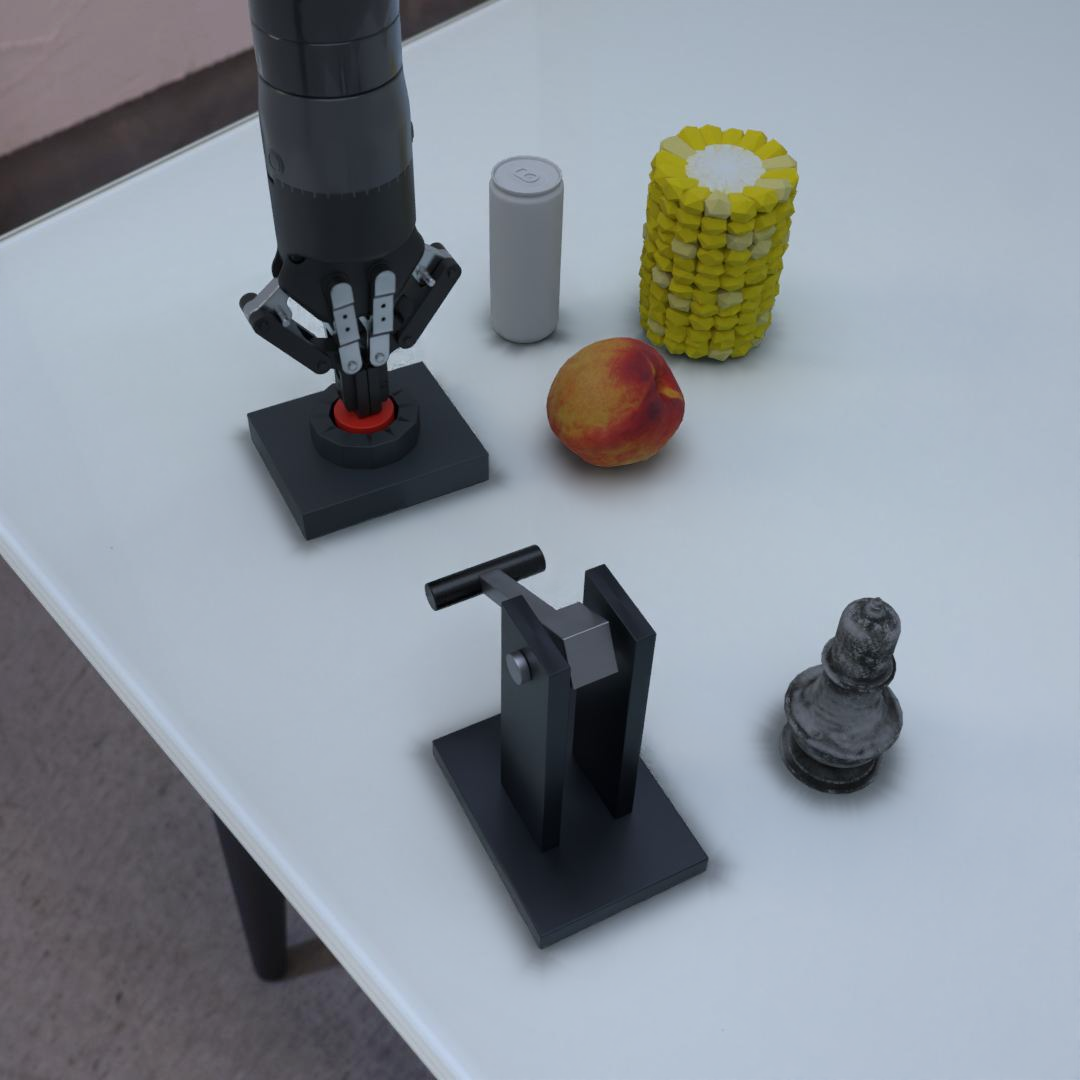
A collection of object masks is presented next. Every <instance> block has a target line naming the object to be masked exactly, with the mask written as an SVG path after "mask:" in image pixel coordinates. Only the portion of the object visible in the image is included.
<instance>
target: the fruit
mask: <svg viewBox="0 0 1080 1080" xmlns="http://www.w3.org/2000/svg"><path fill="white" fill-rule="evenodd" d="M683 393H684V392H682V389H681V387H680V384H679V383H678V381H677V379H676V377H675V375H674V373H673V371H672V369H671V367H670V366H669V365H668V363H667V361H666V360H665V358H664V356H663V355H662V354H661V353H660V352H659V351H658V349H656V348H655V347H654V346H653V345H650V344H648V343H647V342H645V341H642V340H640V339H638V338H634V337H630V336H629V337H628V336H623V337H622V336H616V337H610V338H605V339H601V340H597V341H594V342H592V343H590V344H588V345H586V346H584V347H583V348H581V349H579V350H578V351H577V352H576V353H575V354H573V355H572V356H570V357H569V358H568V359H566V360H565V362H564V363H563V364H562V366H560V368H559V369H558V371H557V373H556V375H555V377H554V379H553V381H552V383H551V385H550V387H549V391H548V393H547V397H546V405H545V408H546V417H547V421H548V424H549V427H550V429H551V431H552V433H553V434H554V435H555V436H556V438H557V439H558V440H559V442H561V443H562V444H563V445H564V446H565V447H566V448H567V449H568V450H569V451H571V452H572V453H573V454H575V455H577V456H578V457H579V458H580V459H581V460H583V461H584V462H585V463H588V464H591V465H593V466H596V467H605V468H608V467H619V466H626V465H630V464H637V463H641V462H644V461H646V460H648V459H650V458H651V457H653V456H654V455H656V454H658V453H659V452H660V451H661V450H662V449H663V448H664V447H665V446H666V445H667V444H668V442H669V441H670V440H671V439H672V438H673V437H674V435H675V434H676V432H677V431H678V430H679V428H680V426H681V424H682V423H683V421H684V416H685V411H686V401H685V396H684V394H683Z"/></svg>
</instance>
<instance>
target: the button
mask: <svg viewBox="0 0 1080 1080" xmlns="http://www.w3.org/2000/svg"><path fill="white" fill-rule="evenodd" d="M381 404H382V411H381V412H378V413H375V414H372V415H369V416H365V417H362V418H358V417H357V415H356V414H355V412H354V411H353V412H349V411H348V410H347V409H346V407H345V406H344V404H343V402H342V401H341V399H339V400H338V401H337V403H336V405H335V407H334V416H335V424H336V427H338V428H340V429H342V430H344V431H346V432H348V433H358V434H371V433H374V432H377V431H380V430H383V429H386V428H387V427H388V426H389V425H390V424H392V423H393V422H394V421H395V418H394V406H393V403H392V401H391V400H390V398H389V397H388V399H387V401H385V402H382V403H381Z"/></svg>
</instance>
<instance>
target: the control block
mask: <svg viewBox="0 0 1080 1080" xmlns="http://www.w3.org/2000/svg"><path fill="white" fill-rule="evenodd" d="M388 381H389V396H388V397H389V398H390V400H391V401H392V403H393V406H394V418H395V421H394V422H393V423H392V424H390V425H389V426H388V427H387V428H386V429H383V430H380V431H377V432H374V433H371V434H358V433H348V432H346V431H344V430H342V429H340V428H338V427H336V424H335V416H334V407H335V405H336V403H337V401H338V400H339V399H340V398H339V396H338V395H337V391H336V383H335V382H334V383H331V384H329V386H327V387H326V388H325V389H324V390H320V391H317V392H314V393H311V394H307V395H303V396H299V397H296V398H293V399H291V400H290V399H289V400H287V401H284V402H279V403H276V404H274V405H270V406H267V407H263V408H260V409H256V410H253V411H250V412H247V413H246V417H247V424H248V429H249V434H250V439H251V441H252V443H253V445H254V447H255V449H256V450H257V452H258V454H259V456H260V458H261V459H262V461H263V463H264V465H265V466H266V469H267V471H268V472H269V475H270V476H271V478H272V480H273V482H274V484H275V486H276V488H277V489H278V491H279V493H280V495H281V497H282V498H283V501H284V502H285V505H286V506H287V507H288V509H289V512H290V513H291V515H292V517H293V518H294V521H295V523H296V525H297V526H298V528H299V530H300V531H301V534H302V535H303V537H304V539H305V540H306V541H309V540H313V539H316V538H319V537H322V536H324V535H327V534H331V533H333V532H336V531H340V530H342V529H345V528H348V527H352V526H355V525H357V524H360V523H363V522H366V521H369V520H372V519H375V518H377V517H381V516H384V515H387V514H391V513H393V512H396V511H398V510H403V509H405V508H407V507H410V506H413V505H416V504H419V503H422V502H426V501H429V500H431V499H434V498H437V497H440V496H443V495H446V494H449V493H452V492H455V491H459V490H461V489H464V488H467V487H470V486H472V485H475V484H478V483H481V482H485V481H488V480H489V479H490V454H489V452H488V451H487V449H486V448H485V447H484V445H483V443H482V442H481V441H480V439H479V437H478V436H477V435H476V433H475V432H474V431H473V429H472V428H471V427H470V426H469V424H468V423H467V421H466V420H465V418H464V417H463V415H462V414H461V413H460V412H459V410H458V408H457V407H456V405H455V404H454V403H453V401H452V400H451V398H450V397H449V396H448V395H447V393H446V392H445V391H444V389H443V388H442V386H441V385H440V383H439V382H438V381H437V379H436V378H435V376H434V375H433V373H432V371H430V370H429V368H428V366H427V365H426V364H425V362H424V361H422V360H421V361H418V362H415V363H410V364H407V365H403V366H401V367H397V368H395V369H390V370H388Z"/></svg>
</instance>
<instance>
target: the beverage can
mask: <svg viewBox="0 0 1080 1080" xmlns="http://www.w3.org/2000/svg"><path fill="white" fill-rule="evenodd" d="M490 175H491V176H490V179H489V183H488V236H489V237H488V241H489V243H488V244H489V245H488V247H489V249H488V251H489V252H488V253H489V289H490V290H489V293H490V295H489V297H490V298H489V300H490V301H489V302H490V323H491V325H492V327H493V329H494V330H495V331H496V332H497V333H498V335H500V336H501V337H502V338H503V339H505V340H507V341H510V342H513V343H518V344H532V343H536V342H539V341H542V340H544V339H545V338H548V336H550V335H551V334H552V333H553V332H554V331H555V330H556V328H557V327H558V323H559V320H560V319H559V318H560V317H559V315H560V291H561V267H562V249H563V248H562V245H563V221H564V220H563V219H564V199H565V198H564V196H565V183H564V180H563V172H562V169H561V168H560V166H559V165H558V164H556V163H555V162H554V161H553V160H550V159H548V158H545V157H542V156H537V155H531V154H530V155H529V154H528V155H527V154H525V155H524V154H523V155H514V156H510V157H507V158H504V159H502V160H500V161H498V162H497V163H496V164H494V166H493V167H492V169H491V171H490Z"/></svg>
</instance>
